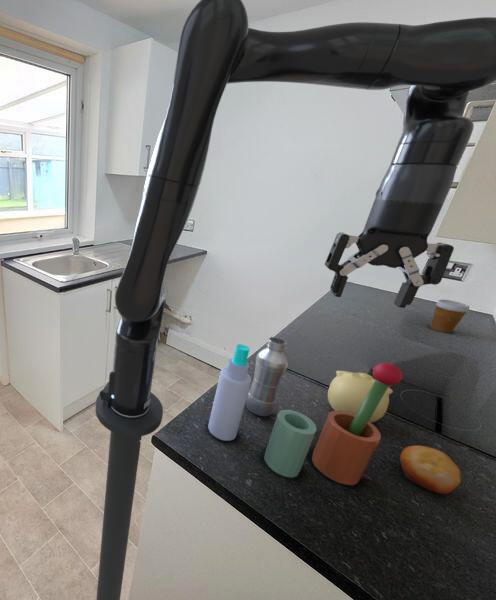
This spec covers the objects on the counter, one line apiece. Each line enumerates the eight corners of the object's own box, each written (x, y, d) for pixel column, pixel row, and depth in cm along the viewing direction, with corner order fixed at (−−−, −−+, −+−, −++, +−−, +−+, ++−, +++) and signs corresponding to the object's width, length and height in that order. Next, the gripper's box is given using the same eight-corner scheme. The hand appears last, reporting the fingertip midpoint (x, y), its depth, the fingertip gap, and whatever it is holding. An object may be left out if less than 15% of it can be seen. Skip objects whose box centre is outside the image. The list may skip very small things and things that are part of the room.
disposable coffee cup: (422, 322, 138) (435, 297, 133) (453, 329, 132) (467, 303, 128) (427, 329, 131) (440, 303, 126) (459, 337, 125) (474, 309, 121)
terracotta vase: (315, 475, 61) (334, 432, 57) (308, 445, 68) (324, 405, 64) (365, 492, 58) (388, 447, 54) (352, 459, 65) (371, 418, 61)
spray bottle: (226, 446, 67) (249, 358, 59) (202, 428, 71) (221, 344, 63) (241, 434, 70) (265, 350, 62) (217, 418, 75) (237, 337, 67)
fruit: (451, 471, 62) (470, 457, 57) (443, 507, 59) (462, 496, 54) (397, 446, 67) (410, 431, 62) (387, 479, 64) (399, 466, 59)
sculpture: (380, 412, 80) (397, 377, 76) (377, 437, 71) (396, 399, 68) (327, 391, 87) (340, 358, 83) (319, 412, 79) (333, 376, 75)
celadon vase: (265, 469, 62) (279, 426, 58) (263, 446, 67) (276, 405, 63) (302, 482, 60) (319, 438, 56) (297, 457, 65) (313, 416, 61)
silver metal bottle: (271, 423, 74) (295, 351, 67) (241, 412, 77) (260, 341, 70) (273, 408, 79) (295, 339, 72) (244, 398, 82) (263, 331, 75)
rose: (327, 465, 62) (384, 364, 55) (322, 452, 65) (375, 356, 59) (350, 475, 60) (411, 373, 54) (344, 461, 64) (400, 364, 58)
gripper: (357, 195, 45) (321, 299, 51) (491, 204, 40) (434, 318, 46) (343, 194, 52) (312, 286, 58) (457, 202, 46) (410, 302, 52)
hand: (366, 300), depth 52 cm, fingers open, 8 cm apart
